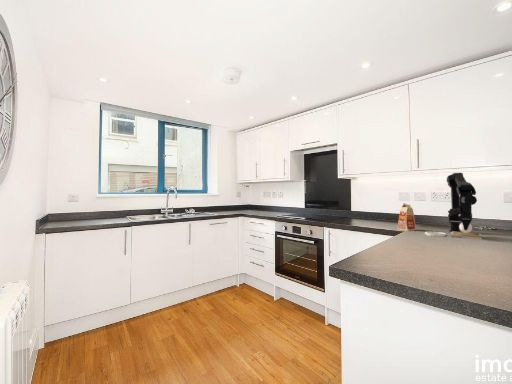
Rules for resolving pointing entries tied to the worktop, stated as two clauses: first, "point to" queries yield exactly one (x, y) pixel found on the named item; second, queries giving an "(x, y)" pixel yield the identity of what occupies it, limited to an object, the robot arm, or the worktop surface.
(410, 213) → the milk carton
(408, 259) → the worktop surface
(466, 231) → the egg
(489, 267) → the worktop surface
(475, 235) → the tray
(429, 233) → the white faceted hoop
